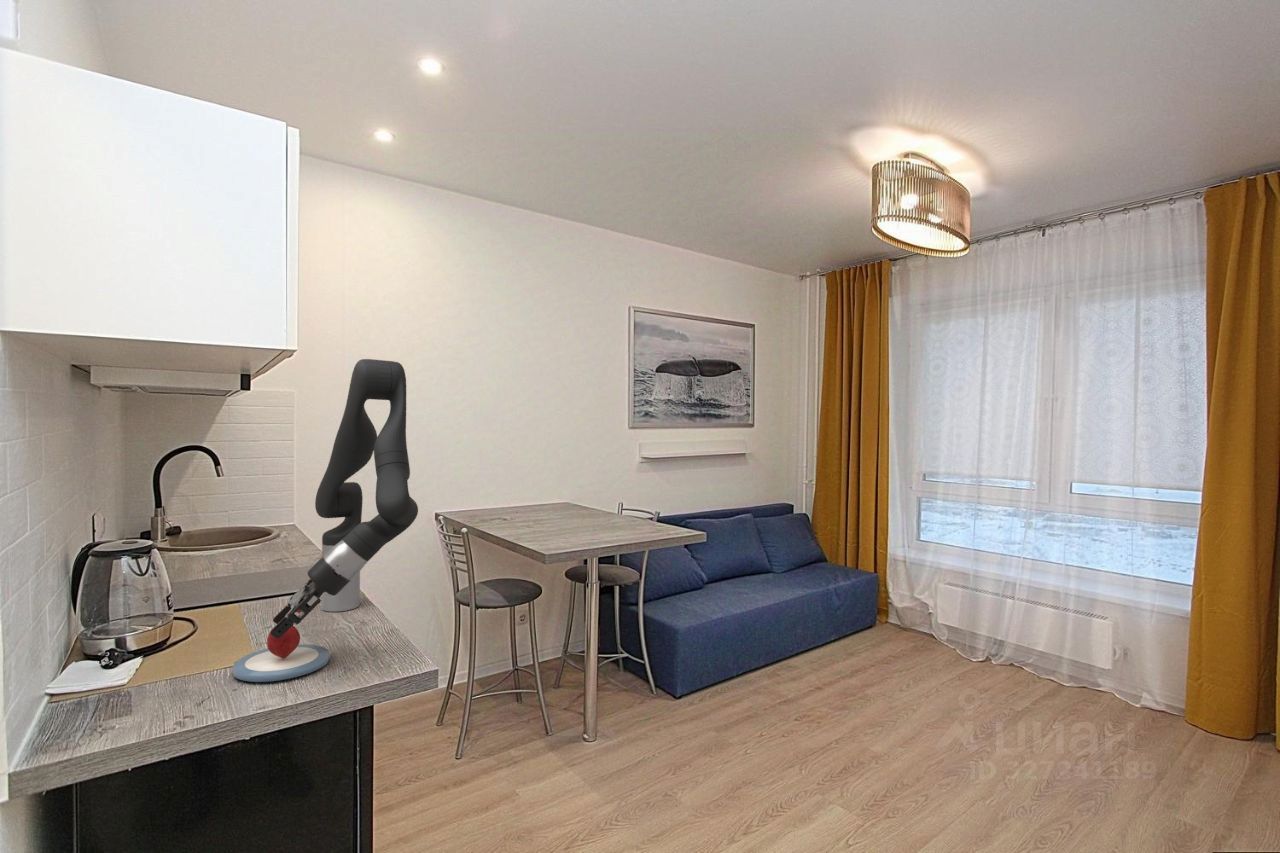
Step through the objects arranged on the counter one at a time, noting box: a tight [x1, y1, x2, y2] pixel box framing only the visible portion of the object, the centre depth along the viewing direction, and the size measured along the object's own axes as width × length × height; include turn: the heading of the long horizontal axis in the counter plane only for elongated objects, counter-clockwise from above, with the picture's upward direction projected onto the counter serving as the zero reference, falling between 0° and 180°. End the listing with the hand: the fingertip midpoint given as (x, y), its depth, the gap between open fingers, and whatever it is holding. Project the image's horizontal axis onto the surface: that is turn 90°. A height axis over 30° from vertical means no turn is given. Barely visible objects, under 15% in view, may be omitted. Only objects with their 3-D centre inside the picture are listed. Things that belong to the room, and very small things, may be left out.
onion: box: [266, 625, 301, 658], centre depth 130 cm, size 6×6×8 cm
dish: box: [232, 643, 330, 683], centre depth 130 cm, size 17×17×2 cm
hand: (275, 629), depth 130 cm, fingers open, 8 cm apart
